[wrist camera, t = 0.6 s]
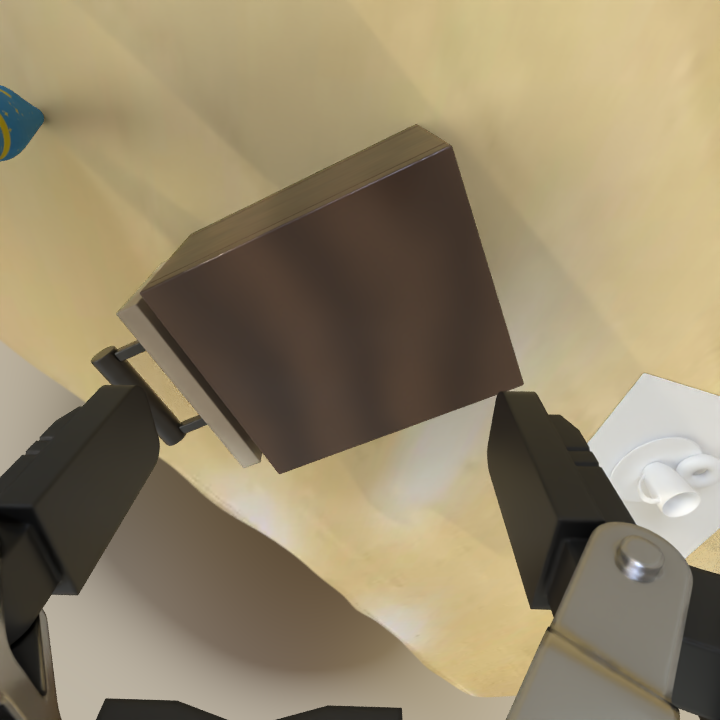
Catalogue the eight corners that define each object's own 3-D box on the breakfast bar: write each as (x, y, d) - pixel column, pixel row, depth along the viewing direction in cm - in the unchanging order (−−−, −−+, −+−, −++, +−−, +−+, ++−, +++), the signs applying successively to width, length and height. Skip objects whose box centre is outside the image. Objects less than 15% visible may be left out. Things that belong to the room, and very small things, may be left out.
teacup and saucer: (726, 446, 40) (763, 482, 36) (666, 506, 44) (694, 543, 40) (644, 424, 38) (676, 459, 34) (589, 488, 42) (612, 526, 38)
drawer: (203, 422, 34) (177, 493, 28) (97, 293, 28) (36, 350, 23) (433, 330, 31) (456, 389, 25) (366, 164, 25) (376, 191, 19)
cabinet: (290, 388, 34) (279, 475, 27) (189, 234, 28) (137, 293, 20) (479, 312, 32) (524, 385, 24) (416, 123, 25) (451, 144, 18)
